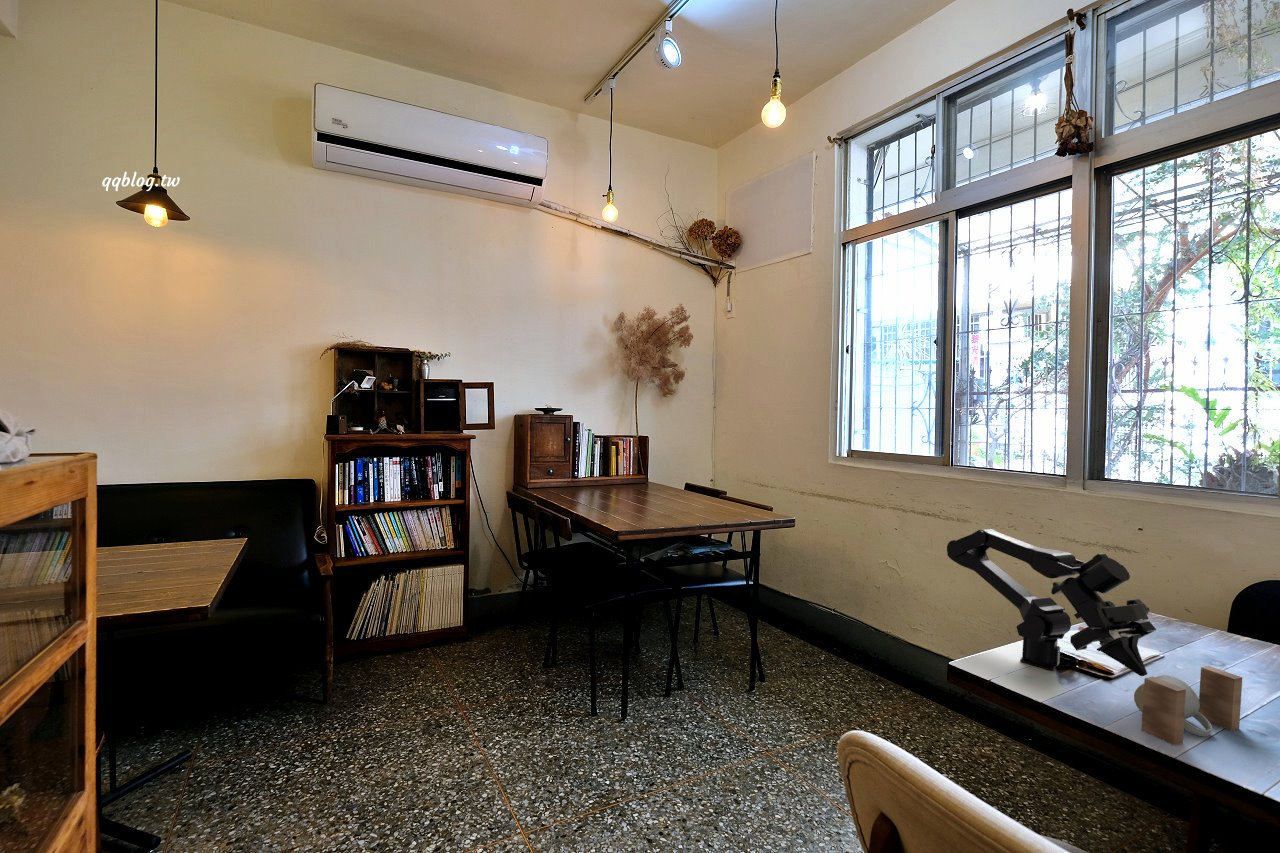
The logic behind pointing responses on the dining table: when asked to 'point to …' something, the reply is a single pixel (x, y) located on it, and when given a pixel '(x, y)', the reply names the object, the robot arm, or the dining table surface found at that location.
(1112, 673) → the dining table surface
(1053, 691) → the dining table surface
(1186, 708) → the ceramic mug
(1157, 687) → the walnut bookends
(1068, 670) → the dining table surface
